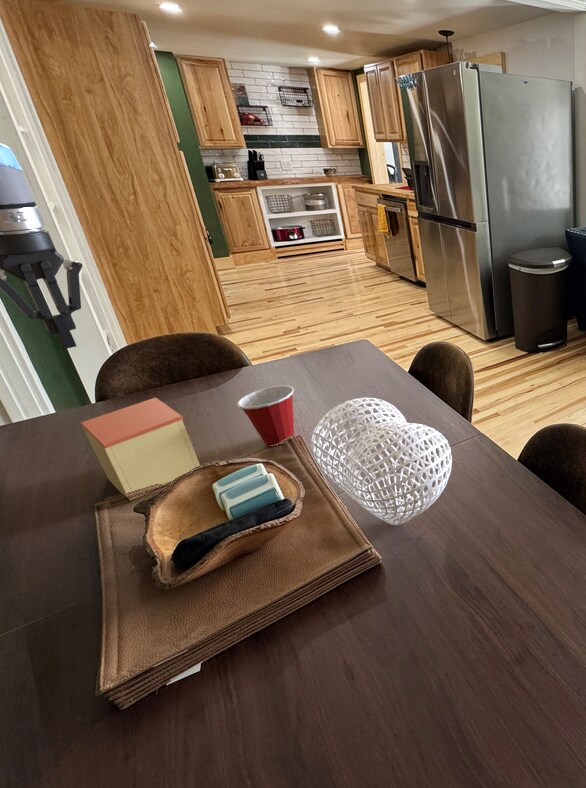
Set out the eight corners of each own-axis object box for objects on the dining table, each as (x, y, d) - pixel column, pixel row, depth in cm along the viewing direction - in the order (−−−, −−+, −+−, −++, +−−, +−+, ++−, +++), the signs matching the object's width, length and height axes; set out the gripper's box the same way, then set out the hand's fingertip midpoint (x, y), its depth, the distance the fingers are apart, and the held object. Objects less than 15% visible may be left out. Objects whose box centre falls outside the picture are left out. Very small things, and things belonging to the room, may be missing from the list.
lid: (183, 419, 95) (181, 415, 94) (104, 448, 86) (103, 444, 85) (157, 400, 101) (155, 397, 101) (81, 426, 92) (80, 422, 92)
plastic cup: (290, 421, 117) (278, 378, 112) (315, 434, 112) (303, 390, 107) (241, 443, 108) (226, 398, 104) (266, 459, 103) (251, 412, 99)
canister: (201, 469, 100) (181, 417, 95) (130, 502, 91) (103, 447, 86) (177, 450, 106) (157, 400, 101) (108, 479, 97) (82, 426, 92)
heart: (479, 530, 85) (466, 425, 76) (399, 591, 73) (374, 475, 65) (393, 469, 100) (374, 376, 92) (317, 511, 89) (287, 409, 80)
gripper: (-34, 238, 82) (27, 361, 91) (72, 228, 92) (118, 339, 101) (-42, 234, 85) (18, 352, 94) (60, 224, 96) (106, 332, 105)
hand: (69, 345), depth 98 cm, fingers closed
